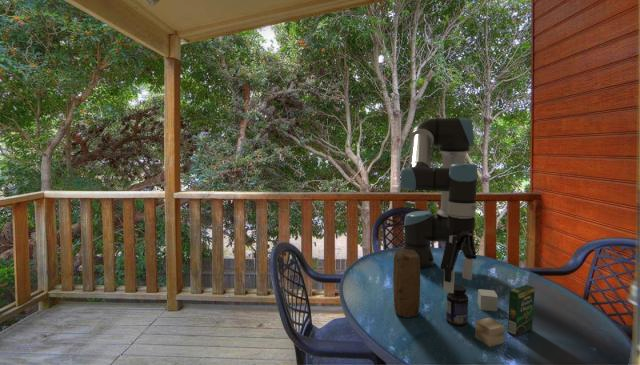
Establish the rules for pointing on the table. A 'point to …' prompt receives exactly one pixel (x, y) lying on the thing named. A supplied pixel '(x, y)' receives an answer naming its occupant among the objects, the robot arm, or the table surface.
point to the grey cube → (487, 300)
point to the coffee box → (521, 310)
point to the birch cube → (489, 331)
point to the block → (406, 282)
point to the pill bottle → (457, 306)
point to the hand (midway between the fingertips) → (458, 285)
